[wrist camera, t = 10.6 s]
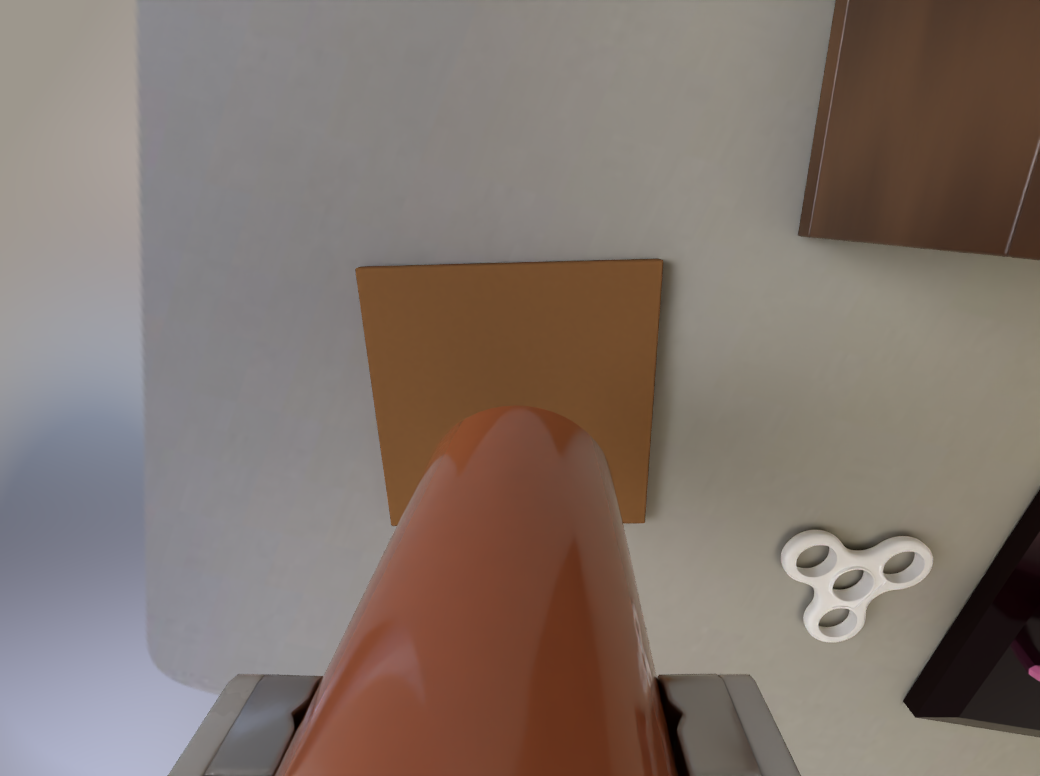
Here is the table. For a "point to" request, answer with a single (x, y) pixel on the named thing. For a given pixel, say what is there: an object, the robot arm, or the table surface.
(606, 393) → the mat
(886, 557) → the fidget spinner
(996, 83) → the cabinet
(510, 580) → the tumbler
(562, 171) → the table surface
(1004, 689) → the dark display base
